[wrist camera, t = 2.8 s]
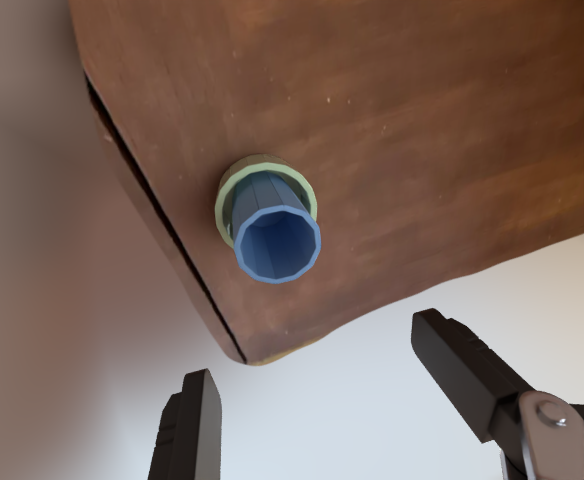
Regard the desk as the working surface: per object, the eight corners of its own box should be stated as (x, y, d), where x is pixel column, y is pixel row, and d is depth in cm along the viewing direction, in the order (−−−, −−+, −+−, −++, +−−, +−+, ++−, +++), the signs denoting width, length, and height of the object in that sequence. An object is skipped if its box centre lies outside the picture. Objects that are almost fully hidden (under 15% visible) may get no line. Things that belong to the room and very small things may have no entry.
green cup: (206, 226, 28) (203, 247, 24) (231, 139, 25) (232, 145, 21) (286, 247, 31) (295, 268, 27) (318, 171, 28) (333, 182, 24)
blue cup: (225, 219, 27) (224, 273, 19) (243, 162, 25) (250, 194, 17) (280, 234, 29) (301, 290, 20) (300, 182, 27) (334, 220, 18)
